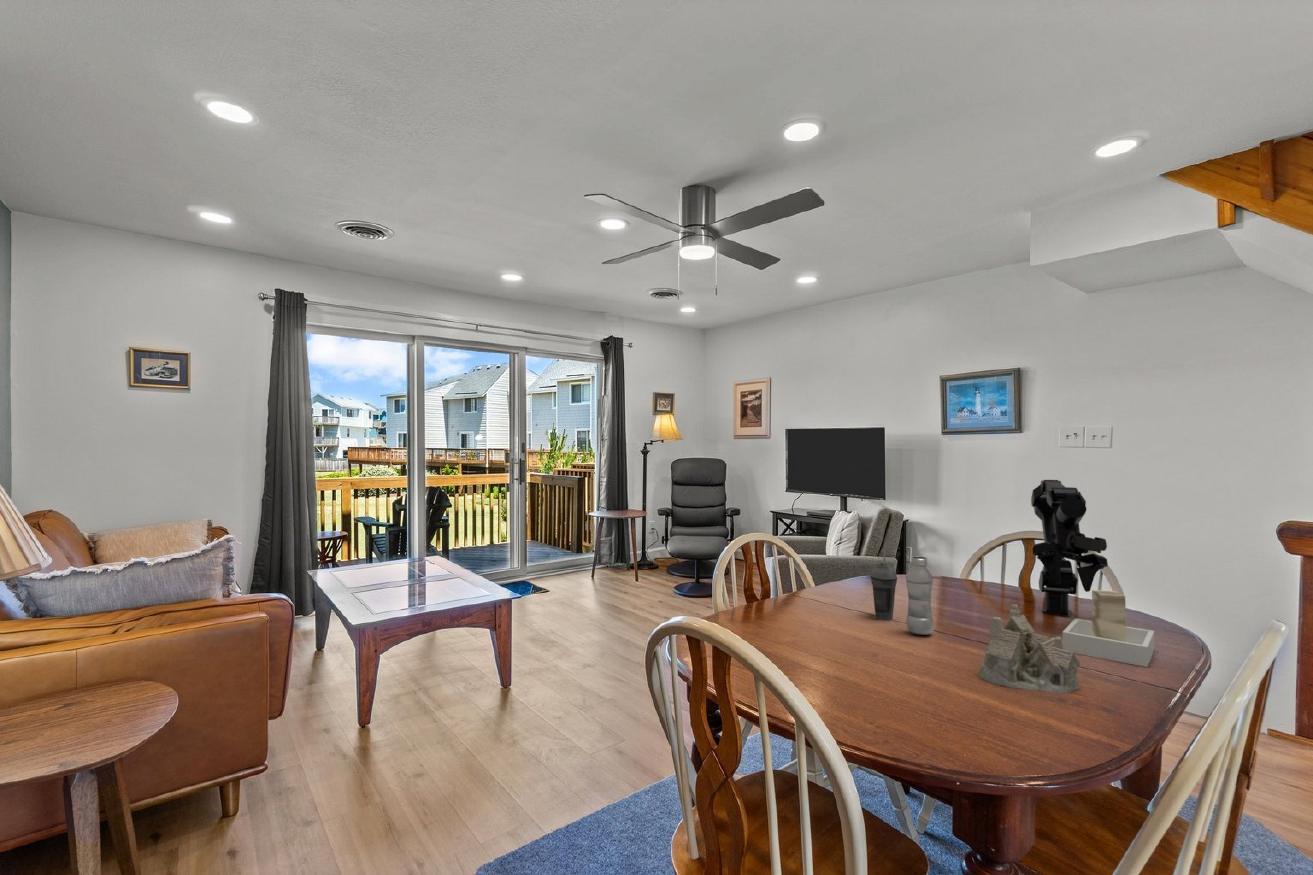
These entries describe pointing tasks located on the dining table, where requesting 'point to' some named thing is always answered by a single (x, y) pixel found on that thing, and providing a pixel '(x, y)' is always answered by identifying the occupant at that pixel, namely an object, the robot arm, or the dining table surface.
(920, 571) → the plastic bottle
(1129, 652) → the box
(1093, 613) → the birch block
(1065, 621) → the dining table surface
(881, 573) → the beverage cup
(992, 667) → the ceramic cottage
